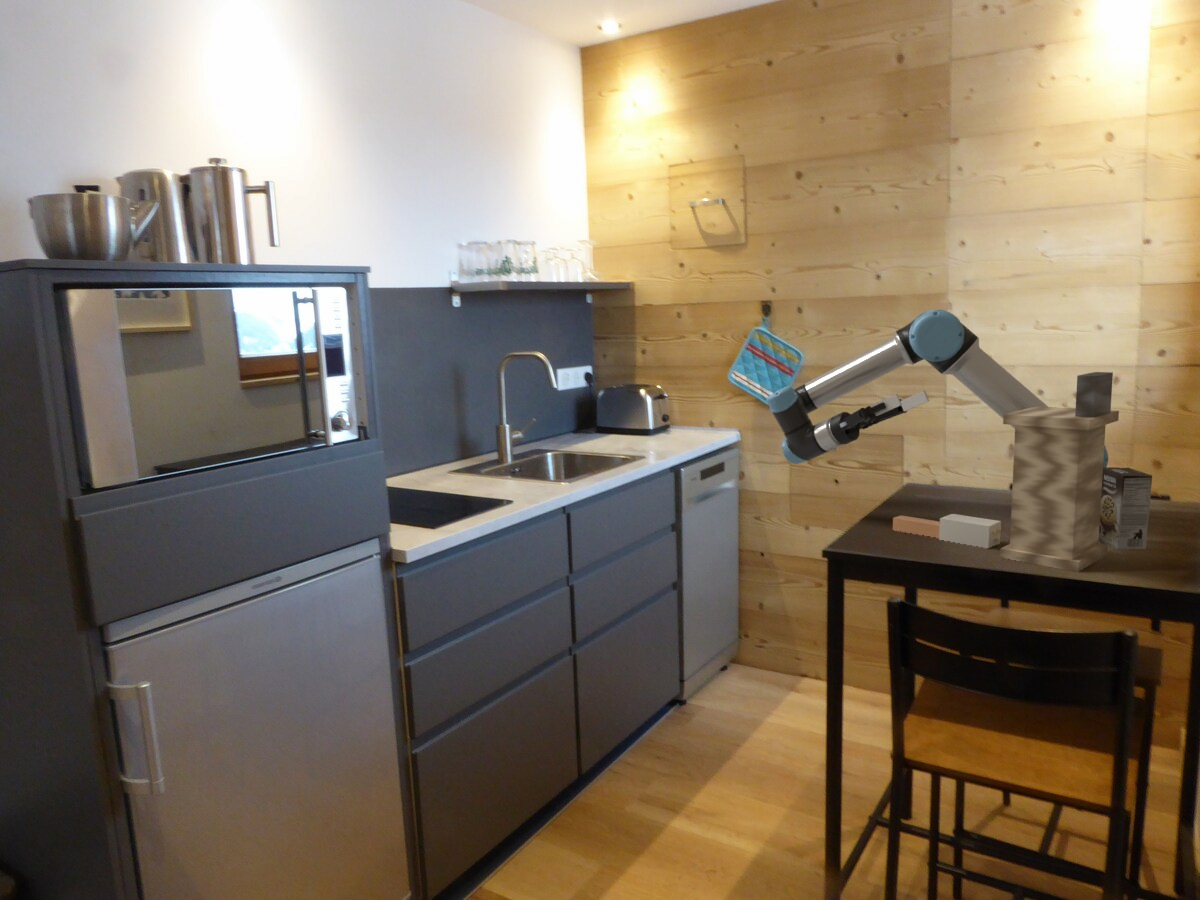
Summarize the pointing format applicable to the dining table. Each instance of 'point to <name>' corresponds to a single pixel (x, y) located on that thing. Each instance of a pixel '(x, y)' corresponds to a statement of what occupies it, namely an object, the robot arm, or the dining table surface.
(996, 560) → the dining table surface
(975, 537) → the plug
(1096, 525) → the stand
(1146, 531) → the coffee box
